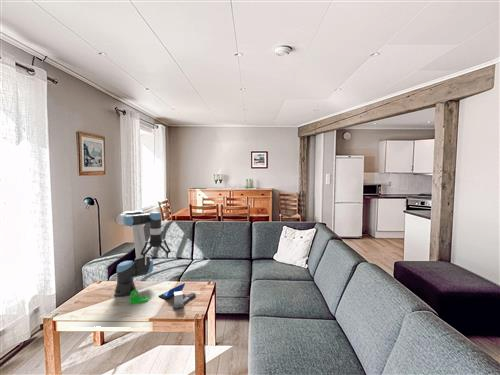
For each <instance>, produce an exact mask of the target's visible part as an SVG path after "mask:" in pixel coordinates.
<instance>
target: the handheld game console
mask: <svg viewBox="0 0 500 375" xmlns="http://www.w3.org/2000/svg"><path fill="white" fill-rule="evenodd" d="M185 285H186V282H185V283H181V284H180V285H177V286H175V287H173V288H170V289H169V290H168V291H166V292H163V293H162V294H160V295H158V298H159V297H160V299H163V300H164V301H167V300H169V299H170V298H174V292H178V291H182V292H183V289H184V287H185Z"/></svg>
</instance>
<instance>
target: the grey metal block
mask: <svg viewBox="0 0 500 375" xmlns="http://www.w3.org/2000/svg"><path fill="white" fill-rule="evenodd" d="M183 299H184V293H183V290H182V291H178V292H174V296H173V302H174V305H181V304H183Z"/></svg>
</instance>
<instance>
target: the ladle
mask: <svg viewBox="0 0 500 375" xmlns="http://www.w3.org/2000/svg"><path fill="white" fill-rule="evenodd" d="M195 297H197V296H196V293H194V292H190V293H189V294H188V295H186V297H183V304H181V305H174V301H173V302H172V303H171V304H172V309H173V310H176V311H177V310H182V309H183V308H184V306H185V304H187V303H188V302H189V301H191V300H193V299H194V298H195Z"/></svg>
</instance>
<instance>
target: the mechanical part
mask: <svg viewBox="0 0 500 375" xmlns="http://www.w3.org/2000/svg"><path fill="white" fill-rule="evenodd" d="M134 294H135V295H134ZM129 296H130V301H129V304H130V305H136V304H143V303H146V302H148V301H149V296H148V295H146V296H140V292H139V290H138V289H136V290H133V291H132V292H131V295H129Z"/></svg>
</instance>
